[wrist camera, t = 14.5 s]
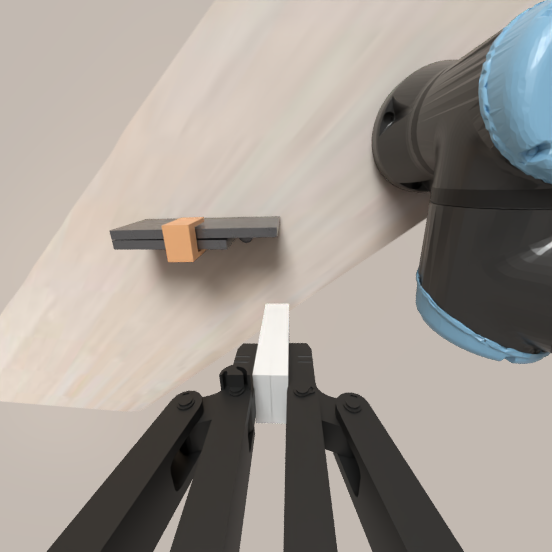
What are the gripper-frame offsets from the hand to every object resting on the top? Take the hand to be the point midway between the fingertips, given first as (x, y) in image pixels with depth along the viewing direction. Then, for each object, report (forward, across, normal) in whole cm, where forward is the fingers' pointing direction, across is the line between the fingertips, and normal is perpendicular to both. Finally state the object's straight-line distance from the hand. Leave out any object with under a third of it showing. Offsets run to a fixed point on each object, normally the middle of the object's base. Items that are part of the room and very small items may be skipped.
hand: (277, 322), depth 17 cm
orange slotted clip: (+21, +13, -2) cm, 25 cm away
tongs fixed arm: (+26, +12, -1) cm, 29 cm away
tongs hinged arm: (+26, +15, -1) cm, 30 cm away
